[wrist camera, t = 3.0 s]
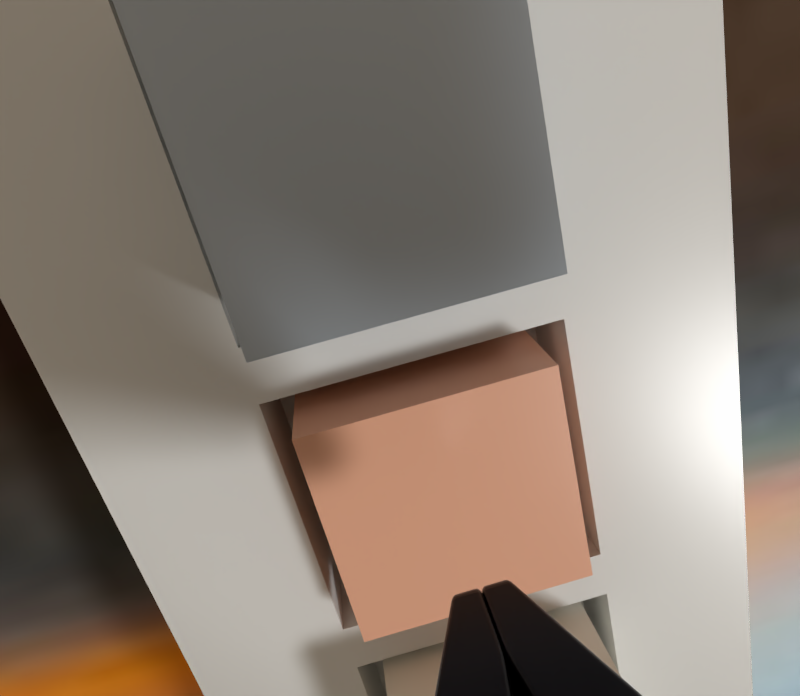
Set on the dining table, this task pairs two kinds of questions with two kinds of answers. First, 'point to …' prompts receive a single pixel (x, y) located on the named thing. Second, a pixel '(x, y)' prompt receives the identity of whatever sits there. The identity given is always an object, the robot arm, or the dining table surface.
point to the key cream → (419, 669)
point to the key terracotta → (444, 480)
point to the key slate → (352, 155)
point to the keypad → (393, 353)
